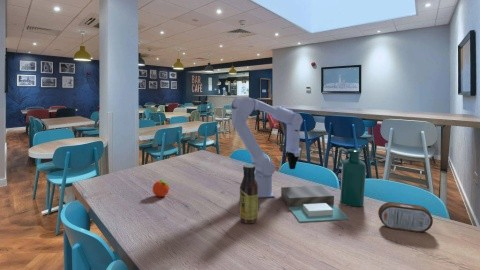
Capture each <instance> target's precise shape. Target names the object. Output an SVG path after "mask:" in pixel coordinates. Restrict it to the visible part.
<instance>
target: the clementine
mask: <svg viewBox="0 0 480 270" xmlns="http://www.w3.org/2000/svg"><path fill="white" fill-rule="evenodd" d="M169 191H170V185H169V183H168V182H167V181H165V180H161V179H160V180H158V181H156V182H155V183H154V184H153V186H152V192H153V194H154V195H155V196H156V197H165V196H166V195H168V194H169Z"/></svg>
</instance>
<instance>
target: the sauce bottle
mask: <svg viewBox="0 0 480 270" xmlns="http://www.w3.org/2000/svg"><path fill="white" fill-rule="evenodd" d="M242 170H243V177H242V181H241V183H240V186H239V218H240V219H239V220H240V221H241V222H242V223H243V224H254V223H256V222H257V221H258V211H259V197H258V184H257V182H256V180H255V179H254V178H255V172H256V170H255V165H253V163H252V164H251V163H246V164H244V165H242Z"/></svg>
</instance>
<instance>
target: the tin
mask: <svg viewBox="0 0 480 270" xmlns="http://www.w3.org/2000/svg"><path fill="white" fill-rule="evenodd" d="M377 213H378V214H377V215H378V218H379V220H380V222H381V223H382V224H383V226H385V227H387V228H389V229H393V230H394V229H395V230H400V231H406V232H407V231H408V232H414V233H424V232H426V231H428V230H430V229H431V228H432V226H433V223H434V218H433V217H432V214H431V212H430V211H429V209H428V208H426V207H424V206H421V205H418V204H409V203H403V202H394V201H389V202H386V203H383V204H381V206H380V207H379V209H378V212H377Z"/></svg>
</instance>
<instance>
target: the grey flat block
mask: <svg viewBox="0 0 480 270" xmlns="http://www.w3.org/2000/svg"><path fill="white" fill-rule="evenodd" d="M280 197H281V198H282V200H283V201H284V203H285V204H286V205H287V207H288V208H289V207H298V206H303V204H318V203H326V204H327V205H335V195H334V194H333V193H331V192H330V191H329V190H327V188H325V187H324V186H323V185H308V186H307V185H306V186H287V187H286V186H285V187H284V186H282V187H281V190H280Z"/></svg>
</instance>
